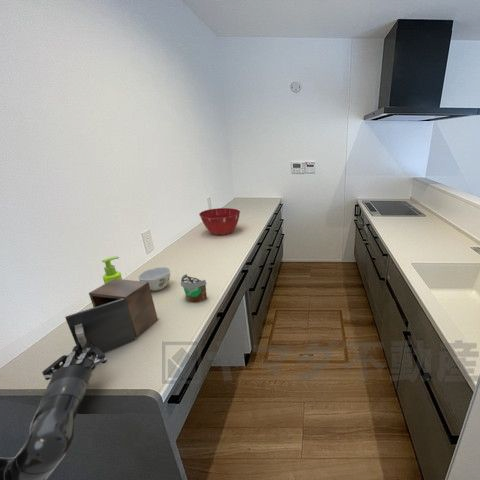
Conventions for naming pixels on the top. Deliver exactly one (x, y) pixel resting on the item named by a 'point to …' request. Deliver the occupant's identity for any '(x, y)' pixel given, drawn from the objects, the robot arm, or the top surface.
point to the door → (102, 326)
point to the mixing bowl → (220, 220)
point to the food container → (194, 288)
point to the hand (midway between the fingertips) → (85, 344)
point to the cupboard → (129, 301)
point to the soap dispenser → (110, 270)
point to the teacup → (156, 278)
